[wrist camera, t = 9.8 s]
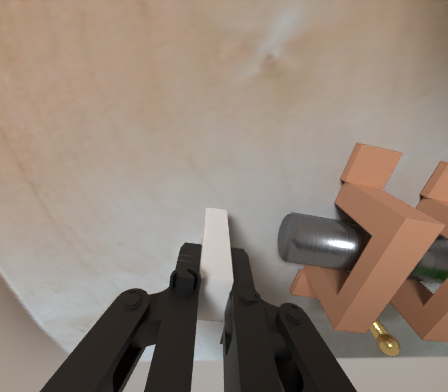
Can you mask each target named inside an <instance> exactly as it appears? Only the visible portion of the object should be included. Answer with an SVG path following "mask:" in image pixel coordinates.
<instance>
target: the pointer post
mask: <svg viewBox="0 0 448 392" xmlns="http://www.w3.org/2000/svg"><path fill="white" fill-rule="evenodd" d="M348 274H349V275H350V273H348ZM369 329H370V331H371V332H372V334H373V335H374V337H375V338H376V343H377V346H378V348H379V349H380V350H381V351H382V352H383V353H384V354H386V355H389V356H396V355H398V354H399V352H400V345H399V343H398V341H397V340H396V338H395V337H393V336H392V335H390V334H389V333H388V332H387V331H386V329H385V328H384V327H383V325H382V324H381V322H380V321H379V320H378V318H377V319H376V320H375V321H374V323H373V324H372V325H371V327H370V328H369Z"/></svg>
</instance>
